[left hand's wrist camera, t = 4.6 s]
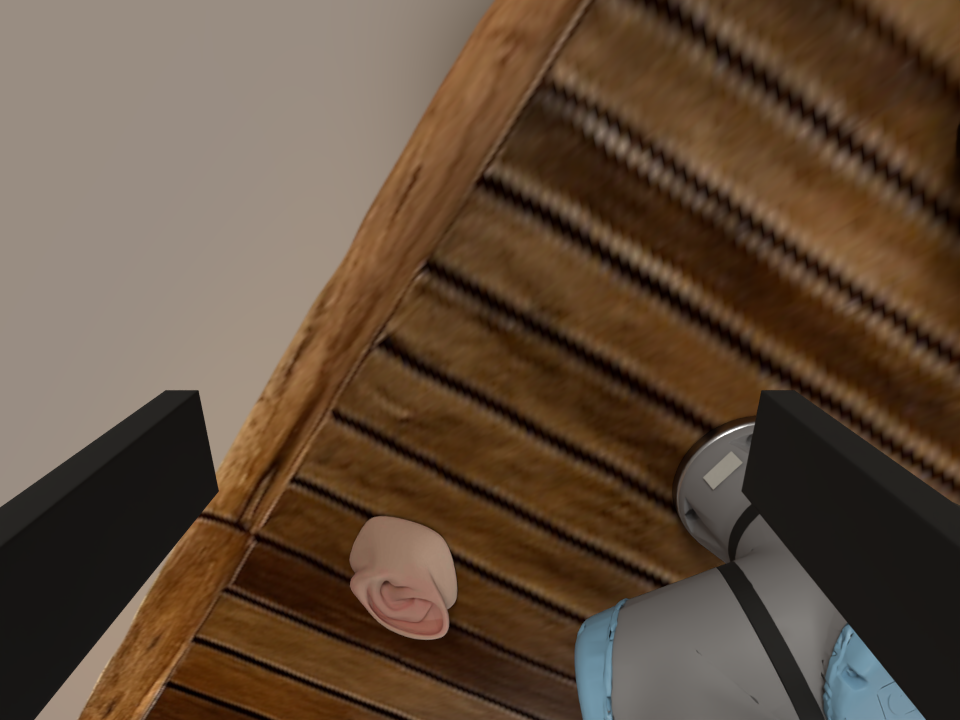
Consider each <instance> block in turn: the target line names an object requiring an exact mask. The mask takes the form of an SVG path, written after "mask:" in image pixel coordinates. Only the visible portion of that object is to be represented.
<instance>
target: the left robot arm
mask: <svg viewBox="0 0 960 720" xmlns="http://www.w3.org/2000/svg"><path fill="white" fill-rule="evenodd" d="M218 492H219V490H218V485H217V480H216V475H215V470H214V465H213V460H212V455H211V450H210V445H209V440H208V436H207V430H206V425H205V420H204V415H203V411H202V406H201V401H200V396H199V391H198V390H166V391H164V392H163V393H161V394H160V395H158V396H157V397H156V398H154V399H153V400H151V401H150V402H149V403H147V404H146V405H144V406H143V407H141V408H140V409H139V410H137V411H136V412H134V413H133V414H132V415H130V416H129V417H127V418H126V419H124V420H123V421H122V422H120V423H119V424H117V425H116V426H115V427H113V428H112V429H110V430H109V431H108V432H106V433H105V434H103V435H102V436H101V437H99V438H98V439H96V440H95V441H93V442H92V443H91V444H89V445H88V446H86V447H85V448H84V449H82V450H81V451H79V452H78V453H76V454H75V455H74V456H72V457H71V458H69V459H68V460H67V461H65V462H64V463H62V464H61V465H60V466H58V467H57V468H55V469H54V470H53V471H51V472H50V473H48V474H47V475H45V476H44V477H43V478H41V479H40V480H38V481H37V482H36V483H34V484H33V485H31V486H30V487H28V488H27V489H26V490H24V491H23V492H21V493H20V494H19V495H17V496H16V497H14V498H13V499H12V500H10V501H9V502H7V503H6V504H4V505H3V506H2V507H0V720H34V719H35V718H36V717H37V716H38V714H39V713H40V712H41V711H42V709H43V708H44V707H45V706H46V705H47V703H48V702H49V701H50V700H51V698H52V697H53V696H54V695H55V693H56V692H57V691H58V690H59V688H60V687H61V686H62V685H63V683H64V682H65V681H66V680H67V678H68V677H69V676H70V675H71V674H72V672H73V671H74V670H75V669H76V667H77V666H78V665H79V664H80V662H81V661H82V660H83V659H84V657H85V656H86V655H87V654H88V653H89V651H90V650H91V649H92V647H93V646H94V645H95V644H96V643H97V641H98V640H99V639H100V638H101V636H102V635H103V634H104V633H105V631H106V630H107V629H108V628H109V626H110V625H111V624H112V623H113V622H114V620H115V619H116V618H117V617H118V615H119V614H120V613H121V612H122V610H123V609H124V608H125V607H126V605H127V604H128V603H129V602H130V601H131V599H132V598H133V597H134V596H135V594H136V593H137V592H138V591H139V589H140V588H141V587H142V586H143V584H144V583H145V582H146V581H147V579H148V578H149V577H150V576H151V574H152V573H153V572H154V571H155V570H156V568H157V567H158V566H159V565H160V563H161V562H162V561H163V560H164V558H165V557H166V556H167V555H168V553H169V552H170V551H171V550H172V549H173V547H174V546H175V545H176V544H177V542H178V541H179V540H180V539H181V537H182V536H183V535H184V534H185V532H186V531H187V530H188V529H189V527H190V526H191V525H192V524H193V523H194V521H195V520H196V519H197V518H198V516H199V515H200V514H201V513H202V511H203V510H204V509H205V508H206V506H207V505H208V504H209V503H210V501H211V500H212V499H213V498H214V497H215V495H216V494H217V493H218ZM673 501H674V505H675V509H676V511H677V513H678V515H679V517H680V519H681V521H682V522H683V524H684V526H685V528H686V529H687V530H688V532H689V533H690V534H691V535H692V536H693V537H694V538H695V539H696V540H697V541H698V542H699V543H700V544H701V545H702V546H704V547H705V548H706V549H708V550H709V551H710V552H712V553H713V554H714V555H716V556H717V557H718V558H720V559H721V560H722V561H724V562H725V563H726V564H724V565H721V566H719V567H716V568H713V569H710V570H708V571H705V572H702V573H700V574H697V575H694V576H692V577H689V578H686V579H684V580H681V581H678V582H675V583H673V584H670V585H667V586H664V587H662V588H659V589H656V590H653V591H651V592H648V593H645V594H642V595H640V596H637V597H634V598H632V599H627V598H626V599H623V600H621V601H620V602H619V603H617V605H616V606H614V607H611V608H609V609H607V610H605V611H602V612H600V613H598V614H595V615H593V616H591V617H589V618H588V619H587V620H586V621H585V622H584V623H583V624H582V626H581V627H580V630H579V632H578V635H577V640H576V644H575V673H576V683H577V690H578V696H579V702H580V707H581V712H582V717H583V720H960V505H958V504H955V503H953V502H951V501H950V500H949V499H947V498H946V497H944V496H943V495H941V494H940V493H939V492H937V491H936V490H934V489H933V488H932V487H930V486H929V485H927V484H926V483H925V482H923V481H922V480H920V479H919V478H917V477H916V476H915V475H913V474H912V473H910V472H909V471H908V470H906V469H905V468H903V467H902V466H900V465H899V464H898V463H896V462H895V461H893V460H892V459H891V458H889V457H888V456H886V455H885V454H884V453H882V452H881V451H879V450H878V449H876V448H875V447H874V446H872V445H871V444H869V443H868V442H867V441H865V440H864V439H862V438H861V437H860V436H858V435H857V434H855V433H854V432H852V431H851V430H850V429H848V428H847V427H845V426H844V425H843V424H841V423H840V422H838V421H837V420H836V419H834V418H833V417H831V416H830V415H828V414H827V413H826V412H824V411H823V410H821V409H820V408H819V407H817V406H816V405H814V404H813V403H812V402H810V401H809V400H807V399H806V398H804V397H803V396H802V395H800V394H799V393H797V392H796V391H795V390H762V391H761V396H760V401H759V406H758V410H757V415H756V416H750V417H744V418H740V419H736V420H733V421H730V422H728V423H725V424H723V425H721V426H719V427H717V428H715V429H713V430H712V431H710V432H709V433H707V434H706V435H704V436H703V437H702V438H701V439H699V440H698V441H697V442H696V443H695V444H694V445H693V446H692V447H691V448H690V450H689V451H688V452H687V453H686V455H685V456H684V458H683V459H682V461H681V463H680V465H679V467H678V469H677V472H676V475H675V478H674V483H673Z"/></svg>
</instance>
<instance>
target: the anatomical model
mask: <svg viewBox="0 0 960 720" xmlns="http://www.w3.org/2000/svg"><path fill="white" fill-rule="evenodd" d="M350 564H351V567H352V569H353V571H354V572H355V573H356V574H355V575H354V576H353V577H352V579H351V583H350V587H351V590H352V591H353V593H354V594H355V595H356V597H357V598H358V599H359V600H360V602H361V603H362V604H363V605H364V607H365V608H366V609H367V610H368V611H369V613H370V614H371V615H372V616H373V617H374V618H375V619H376V620H377V621H378V622H379V623H380V624H382V625H383V626H384V627H386V628H388V629H389V630H391V631H394V632H396V633H398V634H401V635H403V636H406V637H410V638H414V639H423V640H431V639H437V638H440V637H443V636H444V635H445V634H446V633H447V631H448V628H449V615H448V611H447V609H449V608H450V607H451V606H452V605H453V604H454V603H455V601H456V598H457V580H456V573H455V568H454V563H453V559H452V556H451V553H450V550H449V548H448V546H447V544H446V542H445V540H444V539H443V538H442V537H441V536H440V535H439V534H438V533H436V532H435V531H433V530H432V529H430V528H428V527H426V526H423V525H421V524H418V523H415V522H412V521H408V520H404V519H400V518H395V517H388V516H378V517H374V518H371V519H370V520H368V521H367V522H366V523H365V525H364V526H363V528H362V529H361V531H360V533H359V535H358V536H357V538H356V540H355V542H354V545H353V548H352V551H351V554H350Z"/></svg>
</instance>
